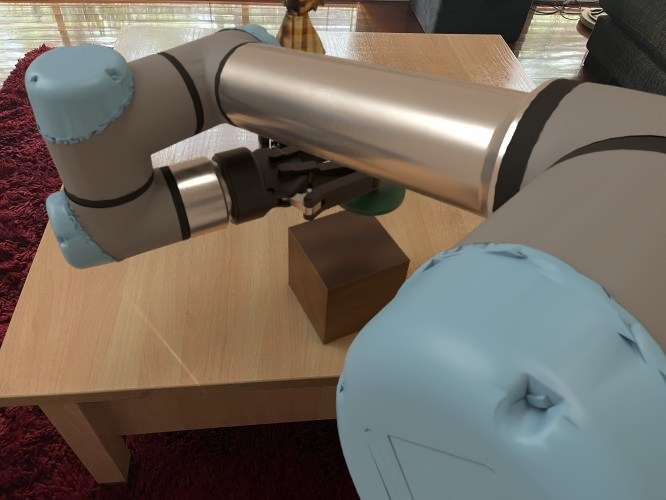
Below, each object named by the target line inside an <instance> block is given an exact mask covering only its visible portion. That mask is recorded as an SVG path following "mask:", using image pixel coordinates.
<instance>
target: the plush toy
mask: <svg viewBox="0 0 666 500" xmlns="http://www.w3.org/2000/svg"><path fill="white" fill-rule="evenodd" d="M326 1H327V0H281V4H282V5H283V8H286V11H285V14H284V16H283V18H282V20H281V23H280V26H279V29H278V31H277V34H276V36H275V38H276V39H277V40H278V42H279V44H280V45H281V47H285V48H291V49H296V50H302V51H307V52H312V53H318V54H323V55H326V53H327V51H326V49H325V47H324V45H323V42H322V40H321V38H320V36H319V34H318V32H317V30H316V29H315V27H314V25H313V23H312V20H311V17H310V15H309V13H310V12H311V11H313V12H315V13H316V12H317V10H318V8H319V6H321V7H325V4H326Z"/></svg>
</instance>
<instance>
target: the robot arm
mask: <svg viewBox="0 0 666 500" xmlns="http://www.w3.org/2000/svg"><path fill="white" fill-rule="evenodd" d="M24 86H25V90H26V94H27V97H28V101H29V104H30V107H31V110H32V112H33V116H34V118H35V123H36V128H37V131H38V132H39V134H40V136H41V137H42V138H43V141H44V143H45V145H46V148H47V150H48V152H49V154H50V156H51V159H52V161H53V164H54V166H55V168H56V170H57V172H58V175H59V177H60V180H61V182H62V185H63V186H62V187H63V189H61V190H59V191H56V192H53V193H50V195H48V196H47V198H46V200H45V207H46V212H47V217H48V220H49V223H50V226H51V229H52V232H53V234H54V237H55V239H56V242H57V244H58V247H59V250H60V252H61V254H62V256H63V258H64V259H65V261H66V263H67V264H68V265H69V266H70V267H72V268H74V269H77V270H85V269H91V268H94V267H99V266H104V265H108V264H112V263H120V262H122V261H124V260H127V259H129V258H132V257H135V256H138V255H141V254H144V253H147V252H152V251H154V250H158V249H160V248H164V247H167V246H170V245H173V244H177V243H180V242H182V241H187V240H190V239H194V238H197V237H200V236H204V235H207V234H210V233H211V234H212V233H214V232H217V231H221V230H224V229H227V227H228V226H229V223H231V224H232V225H235V226H238V225H242V224H246V223H248V222H252V221H255V220H258V219H262V218H264V217H265V216H266V215H267V214H268V213H269V212H270V211H271V210H272V209H276V208H285V209H286V208H290V207H294V208H296V209H298V210H299V211H301V212H302V218H303V220H304V221H306V222H307V221H311V220H314V219H317V218H318V216H319V215H321V214H322V213H323V212H324V211H327V210H329V209H332V208H334V207H337V206H339V205H340V204H342V203H345V202H347V201H350V200H352V199H355V198H357V197H360V196H362V195H365V194H367V193H370V192H372V191H375V190H377V189H379V187H380V181H381V180H383V181H386V182H388V183H391V184H394V185H396V186H399V187H402V188H405V189H406V191H407V190H408V191H410V192H413V193H415V194H418V195H421V196H425V197H426V198H429V199H432V200H434V201H437V202H440V203H443V204H445V205H448V206H451V207H454V208H457V209H459V210H462V211H464V212H468V213H469V214H472V215H475V216H478V217H481V218H484V220H483V221H482V222H480V223H479V224H478V225H477V226H476V227H475V228H473V229H472V230H471V231H469V232H468V233H467V234H466V235H464V237H462V238H461V239H460V240H459V241H457V242H456V243H455V244H454V245H453V246H451V247H450V248H449V249H448V250H443V251H440V252H438V253H436V254H435V255H433V256H432V257H431V258H430V259H428V260H426V261H425V262H424V263H422V264H421V265H420V266H419V267H418V268H417V269H416V270H415V271H414V272H413V273H412V274H411V275H410V276H409V278H406V280H405V282H404V284H403V285H402V286H401V288H400V289H399V291H398V292H397V294H396V296H395V298H394V299H393V300H392V301H391V302H389V303H388V304H387V305H386V306H385V307H384V308H383V309H382V310H381V311H380V312H379V313H378V314H377V315H376V316H375V317H374V318H372V319H371V320H370V321H369V322H368V323H367V324H366V325H365V326H364V327H363V329H361V330H359V331H358V333H357V335H356V336H355V338H354V339H353V340H352V342H351V344H350V346H349V348H348V349H347V351H346V354H345V357H344V361H343V369H342V370H341V372H340V376H339V379H338V383H337V385H336V393H335V394H336V395H335V396H336V397H335V411H336V424H337V431H338V436H339V437H338V438H339V441H340V447H341V449H342V454H343V457H344V460H345V463H346V466H347V469H348V472H349V474H350V477H351V479H352V482H353V485H354V487H355V489H356V493H357V494H358V497H359V499H360V500H666V95H660V94H656V93H651V92H648V91H647V92H646V91H641V90H636V89H631V88H626V87H621V86H616V85H609V84H602V83H597V82H590V81H583V80H577V79H571V78H564V77H552V78H549V79H548V80H546V81H544V82H542V83H541V84H540V85H538V86H537V87H535V88H534V89H533V90H531V91H524V90H518V89H513V88H507V87H503V86H497V85H491V84H486V83H480V82H475V81H469V80H466V79H465V80H464V79H458V78H454V77H448V76H444V75H443V76H442V75H437V74H432V73H426V72H420V71H414V70H410V69H405V68H399V67H394V66H388V65H383V64H377V63H372V62H366V61H361V60H356V59H351V58H345V57H340V56H334V55H328V54H325V55H323V54H318V53H312V52H307V51H302V50H296V49H291V48H285V47H281V45H280V44H279V42H278V40H277V39H276V36H275V35H273V34H270V33H269V32H268V30H267V29H266V28H265V27H264V26H262V25H259V24H255V23H247V24H242V25H238V26H232V27H223V28H221V29H219V30H217V31H216V32H213V33H211V34H208V35H205V36H202V37H200V38H197V39H195V40H191V41H189V42H185V43H182V44H180V45H177V46H174V47H171V48H168V49H166V50H163V51H160V52H156V53H152V54H149V55H146V56H142V57H140V58H137V59H134V60H131V61H128V62H127V60H126V58H125V57H124V56H123V55H122V54H121V53H120V52H119V51H117V50H116V49H114V48H112V47H110V46H106V45H102V44H98V43H82V44H79V45H74V46H73V45H70V44H66V45H61V46H59V47H54V48H51V49H49V50H47V51H45V52H43V53H41V54H40V55H39V56H37V57H36V58H34V60H32V61H31V62H30V64H29V65H28V67H27V69H26V71H25V75H24ZM224 124H227V125H229V126H233V127H235V128H239V129H242V130H244V131H247V132H249V133H253V134H255V135H257V145H258V148H256V149H254V150H253V151H252V150H251V149H249V148H248V147H245V146H240V147H235V148H232V149H228V150H224V151H218V152H216V153H214V155H213V156H212V157H211V159H210V158H209V157H208V156H205V155H201V156H197V157H192V158H189V159H186V160H185V159H184V160H181V161H178V162H174V163H169V164H167V165H163V166H159V167H153V160H152V156H153V155H154V154H157V153H158V152H160V151H163V150H165V149H167V148H169V147H172V146H173V145H176V144H178V143H181V142H183V141H185V140H187V139H190V138H192V137H195V136H197V135H200V134H203V133H204V132H207V131H208V130H211V129H214V128H216V127H218V126H220V125H224Z"/></svg>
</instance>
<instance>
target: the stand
mask: <svg viewBox="0 0 666 500" xmlns="http://www.w3.org/2000/svg"><path fill="white" fill-rule="evenodd" d="M287 235H288V236H287V257H288V258H287V261H288V263H287V264H288V265H287V267H288V272H287V274H288V276H287V278H288V279H287V280H288V282H287V283H288V286H289V288H290V289H291V291H292V293H293V295H294V296H295V298H296V300H297V301H298V303H299V305H300V306H301V308H302V310H303V312H304V313H305V315H306V317H307V319H308V320H309V323H310V324H311V325H312V328H313V329H314V331H315V332H316V335H317V336H318V338H319V339H320V341H321V343H322V345H326V344H327V345H328V344H329V343H331V342H335V341H336V340H339V339H341V338H344V337H347V336H349V335H351V334H354V333H357V332H360V331H361V330H362V329H363V327H364V326H365V325H366V324H367V323H368V322H369V321H370V320H371V319H372V318H374V317H375V316H376V315H377V314H378V313H379V312H380V311H381V310H382V309H383V308H384V307H385V306H386V305H387V304H388V303H389V302H391V301H392V300H393V299H394V298H395V296H396V294H397V292H398V291H399V289H400V288H401V286H402V285H403V284H404V282H405V281H406V280H407V275H408V272H409V268H410V263H411V259H410V258H409V256H408V255H407V254H406V253H405V251H403V249H402V248H401V246H399V244H398V243H397V242H396V240H395V239H394V238H393V236H392V235H390V233H389V232H388V231H387V229H386V228H385V226H384V225H383V224H382V223H381V222H380V221H379V220H378V218H377V216H363V215H358V214H354V213H351V212H349V211H347V210H345V209H343V210H340V211H337V212H334V213H331V214H327V215H323V216H321V217H316V218H315V219H313V220H311V221H307V220H306V221H304V222H301V223H298V224H295V225H291V226H288V227H287Z"/></svg>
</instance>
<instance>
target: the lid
mask: <svg viewBox="0 0 666 500" xmlns="http://www.w3.org/2000/svg"><path fill="white" fill-rule="evenodd" d="M406 193H407V189H405V188H402V187H399V186H396V185H394V184H391V183H388V182H386V181H383V180H381V181H380V187H379V189H377V190H375V191H372V192H370V193H367V194H365V195H362V196H360V197H357V198H355V199H352V200H350V201H347V202H345V203H342V204H340V205H338V206H339V207H340V208H342V209H343V210H347V211H349V212H351V213H354V214H358V215H363V216H375V217H379V216H384V215H388V214H390V213H392V212H394V211H396V210H397V209H398V208H399V207H401V206H402V204H403V203H404V201H405V198H406Z"/></svg>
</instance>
